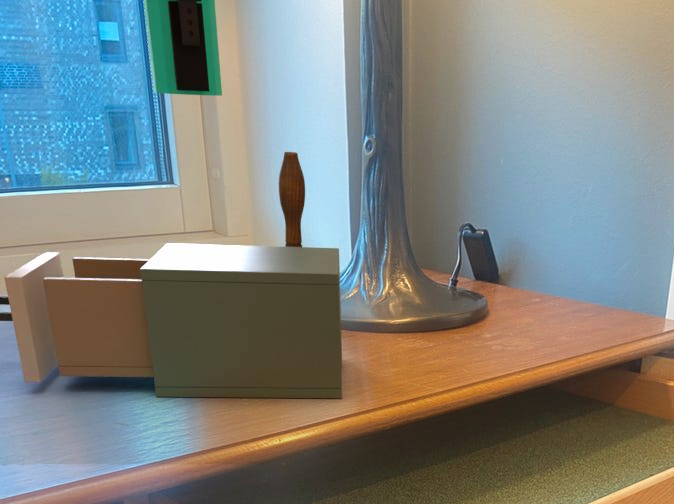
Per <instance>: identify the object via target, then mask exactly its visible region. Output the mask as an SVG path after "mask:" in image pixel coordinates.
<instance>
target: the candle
mask: <svg viewBox="0 0 674 504" xmlns="http://www.w3.org/2000/svg"><path fill="white" fill-rule="evenodd" d="M168 1H177V0H143V9H144V18H145V26H146V27H145V28H146V34H147V35H146V36H147V42H148V43H147V44H148V53H149V62H150V63H149V64H150V73H151V80H152V90H153V93H156V94H167V95H184V96H185V95H187V96H212V97H213V96H214V97H215V96H216V97H218V96H219V97H220V96H221V97H222V96H223V90H222V89H223V88H222V78H221V65H220V53H219V50H220V49H219V39H218V27H217V26H218V25H217V14H216V13H217V12H216V3H215V0H202V1H201V2H197V3H202V11H203V22H204V34H205V45H206V57H207V69H208V80H209V92H208V91H185V90H177V88H176V78H175V69H174V59H173V49H172V39H171V29H170V19H169V9H168Z"/></svg>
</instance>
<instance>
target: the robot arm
mask: <svg viewBox="0 0 674 504" xmlns="http://www.w3.org/2000/svg"><path fill="white" fill-rule="evenodd" d="M201 1H202V0H177V1H168V9H169V19H170V29H171V39H172V49H173V59H174V69H175V78H176V88H177V90H185V91H208V92H209V80H208V69H207V57H206V45H205V34H204V22H203V11H202V3H197V2H201Z"/></svg>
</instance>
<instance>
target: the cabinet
mask: <svg viewBox="0 0 674 504" xmlns="http://www.w3.org/2000/svg"><path fill="white" fill-rule="evenodd" d="M149 259H150V260H149V261H148V262H147V263H146V264H145V265H144V266H143V267H142V268H141V269H140V274H141V280H142V289H143V297H144V305H145V313H146V321H147V328H148V336H149V344H150V352H151V360H152V368H153V376H154V377H153V382H154V390H155V391H154V392H155V397H156V398H230V399H231V398H237V399H241V398H242V399H243V398H244V399H245V398H247V399H249V398H251V399H343V343H342V339H343V338H342V307H341V306H342V305H341V273H340V272H341V271H340V270H341V269H340V248H338V247H307V246H306V247H305V246H302V247H285V246H277V245H276V246H275V245H274V246H273V245H271V246H270V245H238V244H237V245H236V244H235V245H234V244H205V243H203V244H202V243H201V244H200V243H170V242H167V243H165V244H164V245H163V247H161V248H160V249H159V250H158V251H157V252H156V253H155V254H154V255H153V256H152V257H151V258H149Z"/></svg>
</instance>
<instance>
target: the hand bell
mask: <svg viewBox="0 0 674 504" xmlns="http://www.w3.org/2000/svg"><path fill="white" fill-rule="evenodd" d="M282 158H283V159H282V163H281V165H280V166H281V167H280V169H279V174H278V175H279V176H278V195H279V203H280V207H281V211H282V214H283V218H284V225H285V228H284V229H285V231H284V232H285V237H284V238H285V239H284V240H285V241H284V242H285V244H284V247H303V244H302V242H303V240H302V239H303V238H302V217H303V213H304V208H305V204H306V181H305V177H304V173H303V170H302V165H301V163H300V159H299V154H298V152H296V151H294V152H293V151H285V152H283V157H282Z"/></svg>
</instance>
